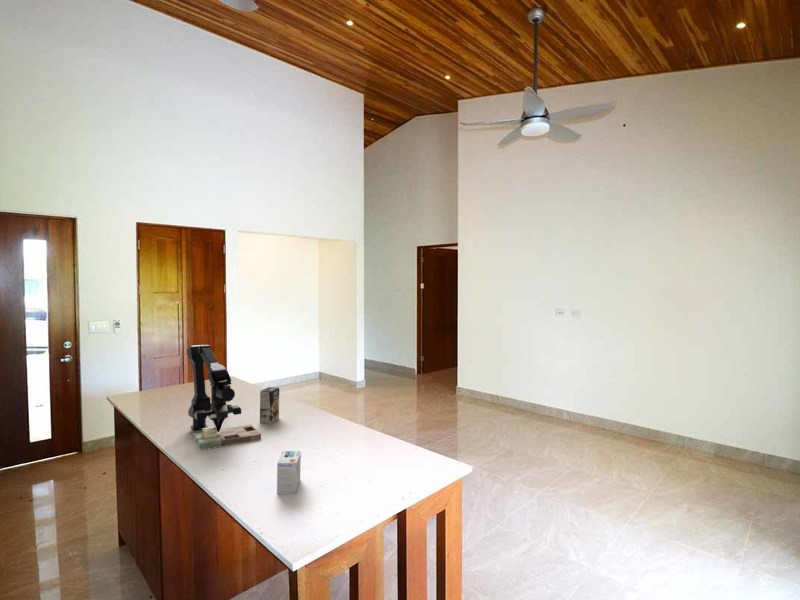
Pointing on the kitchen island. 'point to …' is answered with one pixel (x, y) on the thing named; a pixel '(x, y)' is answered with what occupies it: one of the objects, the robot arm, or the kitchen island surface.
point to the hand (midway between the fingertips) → (218, 431)
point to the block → (209, 432)
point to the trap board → (228, 437)
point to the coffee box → (269, 405)
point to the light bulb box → (288, 472)
